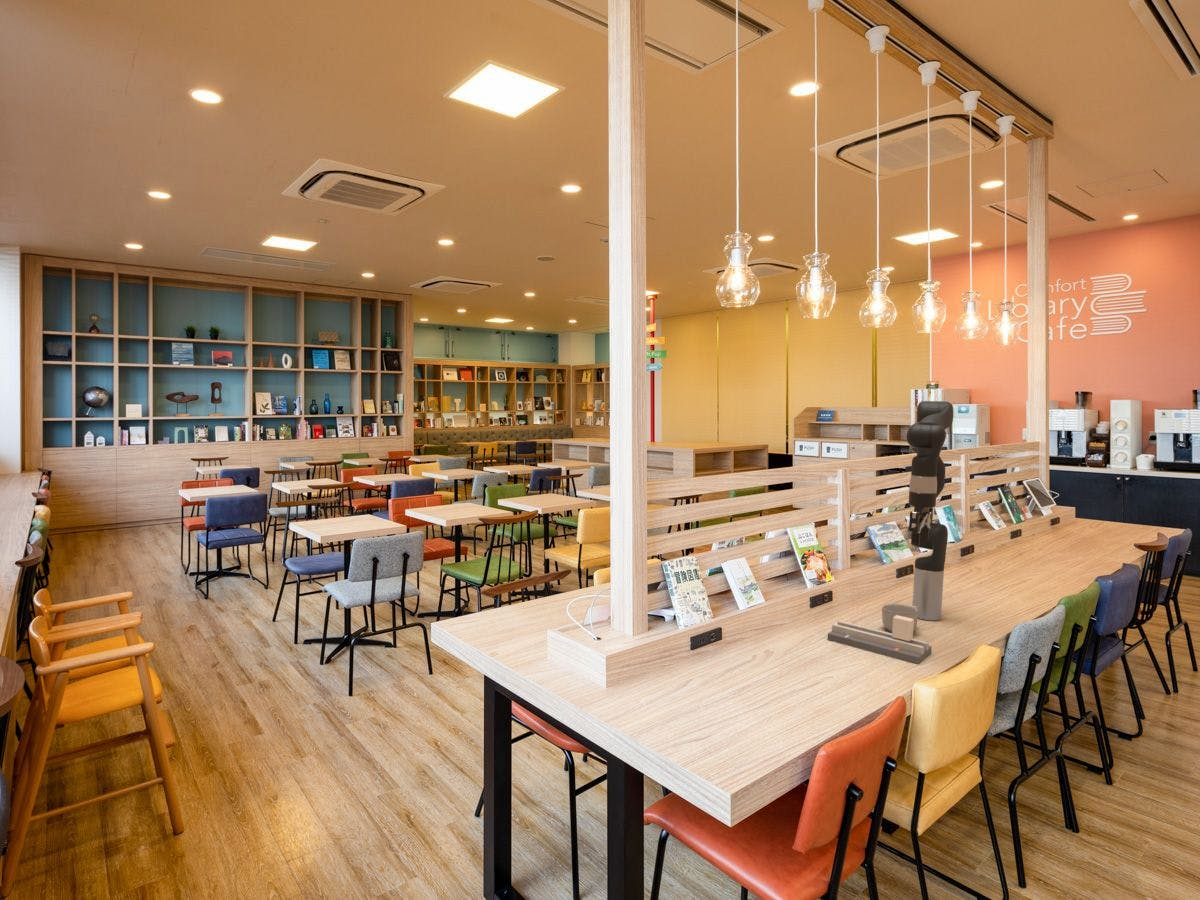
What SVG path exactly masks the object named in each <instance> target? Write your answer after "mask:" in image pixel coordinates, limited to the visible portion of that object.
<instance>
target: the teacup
mask: <svg viewBox="0 0 1200 900" xmlns="http://www.w3.org/2000/svg"><path fill="white" fill-rule="evenodd" d="M881 609H882V610H881V614H882V615H881V616H882V617H881V618H882V625H883V626H884V628H885V629H887V630H888V632H889V633H892V628H893V617H894V616H896V615H898V616H903V617H907V618H912V619H914V627H913V631H915V630H916V629H917V625H918V618H917V616H918V614H919V609H918V607H917V606H912V605H909V604H908V605H907V604H903V603H886V604H883V605H882V606H881Z"/></svg>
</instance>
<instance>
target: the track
mask: <svg viewBox="0 0 1200 900" xmlns="http://www.w3.org/2000/svg"><path fill="white" fill-rule="evenodd" d="M827 641H831V642H834V643H838V644H842V645H846V646H850V647H853V648H857V649H861V650H863V651H864V650H865V651H868V652H871V653H876V654H879V655H883V656H886V657H890V658H894V659H897V660H901V661H906V662H908V663H911V664H917V665H919V664H920V663H921V662H923V661H924V660H925V659H926V658H927V657H928V656H929V655H931V654H932V646H931V645H930V644H929V643H930V642H929V641H928V642H927V641H924V640H920V639H915V638H913V639H912V640H910V643H908V642H904V641H900V640H896V639H894V637H892V632H889V631H884V630H880V629H876V628H872V627H867V626H863V625H859V624H855V623H852V622H847V621H843V620H838V621H837V623H832V625H831V631H830V632H828V633H827Z"/></svg>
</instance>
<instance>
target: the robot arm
mask: <svg viewBox="0 0 1200 900" xmlns="http://www.w3.org/2000/svg"><path fill="white" fill-rule="evenodd" d="M953 421H954V406H953V404H952V403H951V402H949V401H946V400H945V401H943V400H940V401H939V400H938V401H936V400H935V401H931V400H930V401H927V400H925V401H924V400H923V401H922V400H921V401H920V402H919V403H918V405H917V409H916V422H915V423H913V424H911V425H910V426H909V428H908V430H907V431H906V442H907V443H908V444H909V446H910V447H913V448H916V456H913V457H912V460H911V472H910V479H909V488H908V489H909V491H908V492H909V493H908V504H909V505H908V506H911V507H913V511H912V510H911V511H910V512H909V519H908V521H909V522H908V532H910V533H911V534H910V535H911V538H910V539H911V541H910V544H911V545H912V546H914V547H916V548H921V549H926V550H932V553H931V554H930V555H927V556H921V557H917V558H915V561H914V569H913V571H914V573H913V574H914V575H913V587H912V588H913V591H912V603H911V606H917V607H918V609H919V614H918V616H917V619H920V620H925V621H934V622H935V621H940V620H941V619H942V606H943V605H942V604H943V592H944V588H943V587H944V573H945V563H946V555H947V554H946V553H947V546H948V541H949V540H948V538H949V530H948V527H947V526H946V525H945V524H941V523H936V522H933V519H934V518H933V516H934V515H933V514H934V508H935V507H936V505H937V497H938V496H939V495H940V494H941V493H942V491H943V489H944V488H945V483H946V466H945V463H944V461H943V459H942V457H941V456H940V454H941V451H942V450H943V447H944V443H945V441H946V439H947V431H946V430H947V429H948V428H950V427H951V426H952V424H953Z"/></svg>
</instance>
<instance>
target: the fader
mask: <svg viewBox="0 0 1200 900" xmlns="http://www.w3.org/2000/svg"><path fill="white" fill-rule="evenodd" d="M913 627H914V619H912V618H907V617H903V616H898V615H896V616H894V617H893V628H892V632H891V633H892V637H894V639H896V640H900V641H904V642H908V643H910V640H912V639H914V630H913Z"/></svg>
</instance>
